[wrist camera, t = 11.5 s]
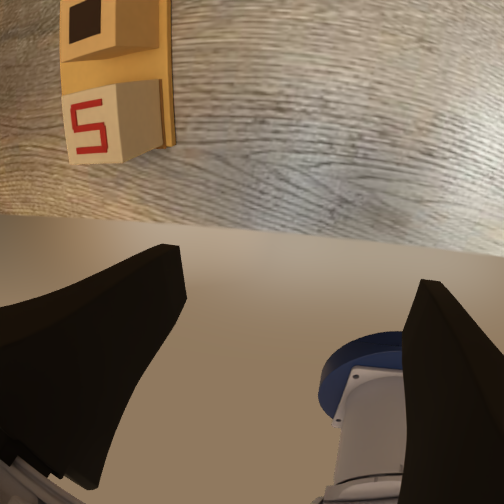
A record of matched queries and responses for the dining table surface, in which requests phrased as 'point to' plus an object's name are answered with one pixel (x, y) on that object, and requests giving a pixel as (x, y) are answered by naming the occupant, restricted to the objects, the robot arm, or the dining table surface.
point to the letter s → (112, 122)
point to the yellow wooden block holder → (118, 48)
